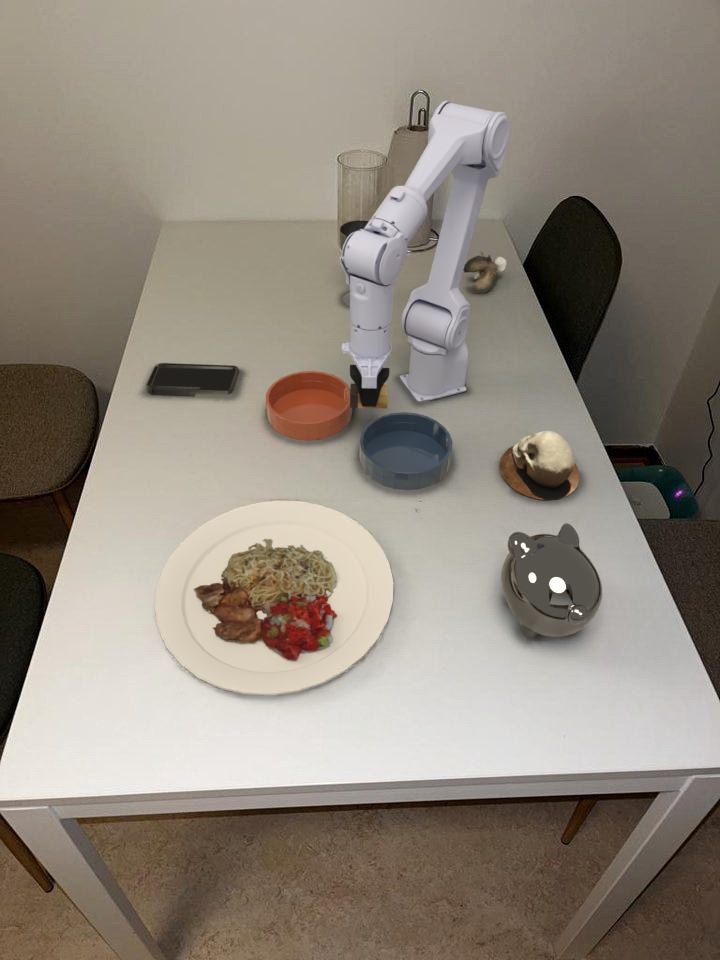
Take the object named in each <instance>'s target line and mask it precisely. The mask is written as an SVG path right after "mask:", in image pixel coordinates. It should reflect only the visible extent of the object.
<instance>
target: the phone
mask: <svg viewBox="0 0 720 960" xmlns="http://www.w3.org/2000/svg"><path fill="white" fill-rule="evenodd" d="M239 374H240V369H239V367H238V366H237V365H228V364H201V363H199V364H198V363H173V362H159V363H157V364H155V366H154V367H153V369H152V371H151V374H150V376H149V378H148V380H147V383H146V384H145V388H146V390H147V393H148V394H150V395H162V396H187V397H189V396H190V397H195V396H196V395H208V396H209V395H210V396H211V395H212V396H229V395H231V394H233V393H234V391H235V387H236V384H237V381H238V378H239Z"/></svg>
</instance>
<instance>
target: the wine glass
mask: <svg viewBox="0 0 720 960" xmlns="http://www.w3.org/2000/svg"><path fill="white" fill-rule="evenodd" d="M369 221H370V220H362V219H361V220H359V219H357V220H351V221H348V222H347V221H346V222H345V223H342V224H341V225H340V227H339V242H340V243H339V244H340V249H341V251H342V249H343V246H344V243H345V241H346V239H347V237H348V236H349V235H350V234H351V233H353V232H356V231H357V230H358V231H359V230H360V229H364V228H365V226H366V225H367V223H368V222H369ZM342 302H343V304H344V305H345V306H347V307H348V308H350V292H348V293H346V294H344V296H343V297H342Z"/></svg>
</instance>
